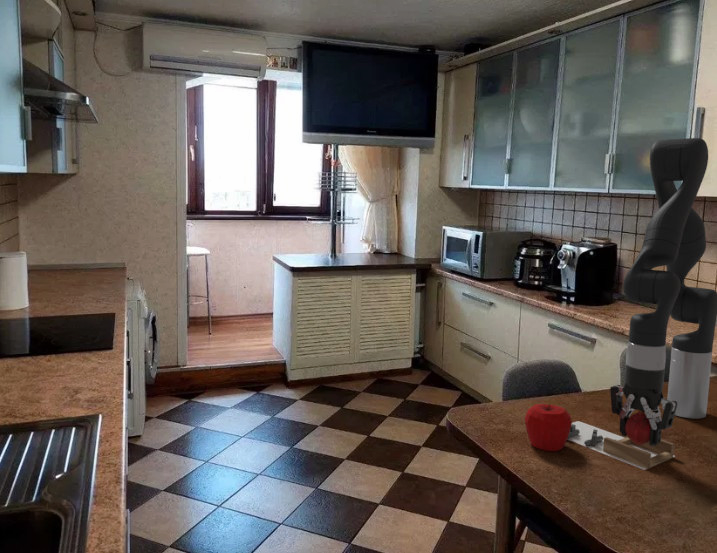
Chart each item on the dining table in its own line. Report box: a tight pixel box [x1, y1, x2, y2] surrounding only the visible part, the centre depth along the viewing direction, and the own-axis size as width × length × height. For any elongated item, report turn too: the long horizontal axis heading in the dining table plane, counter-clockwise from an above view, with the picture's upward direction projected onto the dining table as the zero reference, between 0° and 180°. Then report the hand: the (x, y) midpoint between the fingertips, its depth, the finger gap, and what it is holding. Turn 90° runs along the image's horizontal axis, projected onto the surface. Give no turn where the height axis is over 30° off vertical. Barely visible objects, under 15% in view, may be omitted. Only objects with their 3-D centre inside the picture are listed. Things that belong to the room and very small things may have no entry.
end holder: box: [603, 436, 675, 469], centre depth 130 cm, size 10×10×3 cm
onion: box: [625, 410, 652, 445], centre depth 130 cm, size 6×6×8 cm
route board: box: [566, 420, 676, 471], centre depth 136 cm, size 14×24×4 cm, turn 35°
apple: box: [524, 403, 573, 452], centre depth 134 cm, size 10×10×11 cm
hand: (639, 439), depth 130 cm, fingers closed on onion, 5 cm apart
